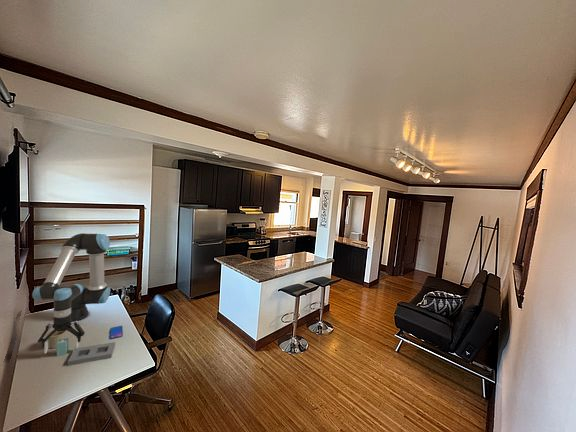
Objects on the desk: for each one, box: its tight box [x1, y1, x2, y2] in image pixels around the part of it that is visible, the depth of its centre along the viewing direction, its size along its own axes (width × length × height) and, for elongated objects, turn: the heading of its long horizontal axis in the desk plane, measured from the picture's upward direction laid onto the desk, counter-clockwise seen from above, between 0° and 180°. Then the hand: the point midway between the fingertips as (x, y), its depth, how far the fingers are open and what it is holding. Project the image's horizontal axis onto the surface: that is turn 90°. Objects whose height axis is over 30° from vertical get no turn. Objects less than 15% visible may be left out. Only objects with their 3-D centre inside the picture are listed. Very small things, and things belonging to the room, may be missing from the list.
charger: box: [56, 338, 69, 357], centre depth 144 cm, size 4×4×9 cm
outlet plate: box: [67, 341, 116, 366], centre depth 145 cm, size 12×20×2 cm, turn 116°
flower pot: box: [44, 329, 68, 349], centre depth 150 cm, size 9×9×9 cm
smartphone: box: [109, 325, 124, 340], centre depth 168 cm, size 7×1×15 cm
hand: (62, 349), depth 144 cm, fingers open, 13 cm apart
